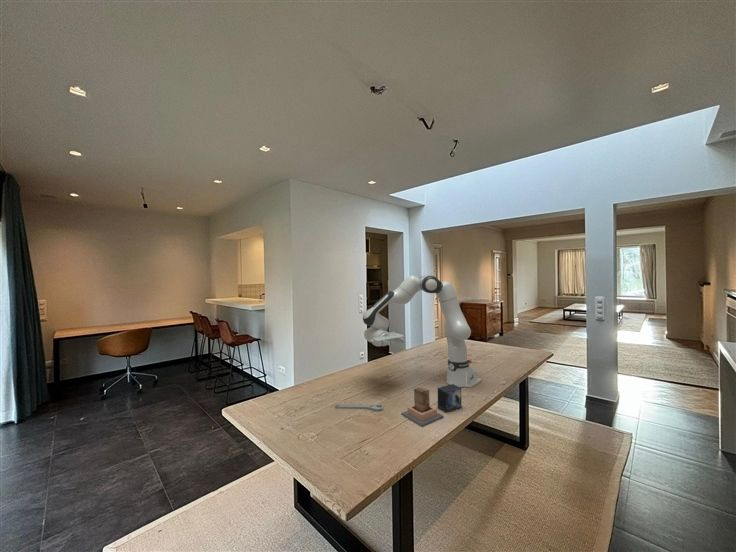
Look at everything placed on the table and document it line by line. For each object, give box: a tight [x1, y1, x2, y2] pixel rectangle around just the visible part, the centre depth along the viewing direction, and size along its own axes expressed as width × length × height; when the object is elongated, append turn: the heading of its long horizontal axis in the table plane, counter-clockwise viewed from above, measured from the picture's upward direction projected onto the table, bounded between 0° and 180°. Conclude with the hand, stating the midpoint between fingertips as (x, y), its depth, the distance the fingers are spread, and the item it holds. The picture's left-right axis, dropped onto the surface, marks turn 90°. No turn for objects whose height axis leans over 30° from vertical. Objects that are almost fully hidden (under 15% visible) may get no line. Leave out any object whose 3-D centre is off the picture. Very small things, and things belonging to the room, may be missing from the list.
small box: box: [437, 384, 463, 413], centre depth 146 cm, size 11×6×10 cm, turn 115°
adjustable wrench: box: [334, 402, 384, 412], centre depth 150 cm, size 25×6×2 cm, turn 78°
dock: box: [400, 404, 445, 428], centre depth 138 cm, size 14×14×4 cm
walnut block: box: [413, 386, 431, 413], centre depth 138 cm, size 5×5×12 cm
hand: (397, 342), depth 162 cm, fingers open, 8 cm apart
